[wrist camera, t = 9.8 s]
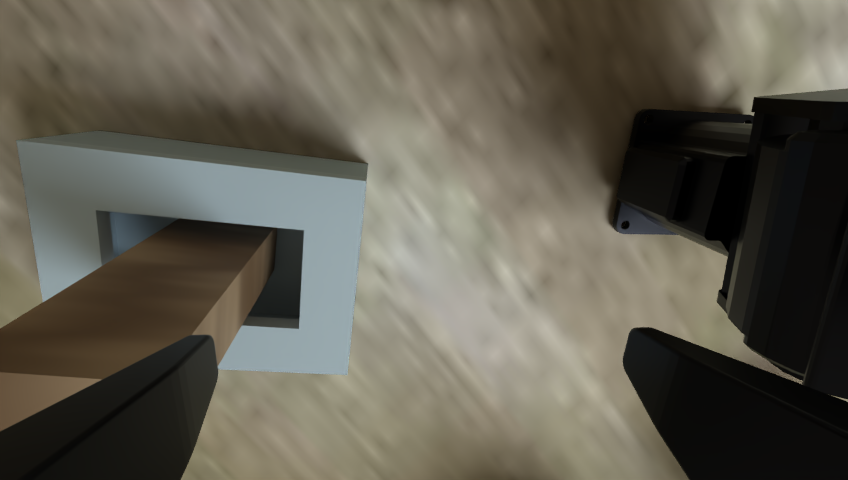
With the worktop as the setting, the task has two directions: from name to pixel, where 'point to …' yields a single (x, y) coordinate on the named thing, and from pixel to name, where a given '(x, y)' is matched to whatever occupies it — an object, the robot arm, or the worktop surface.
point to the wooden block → (134, 311)
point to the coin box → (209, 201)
